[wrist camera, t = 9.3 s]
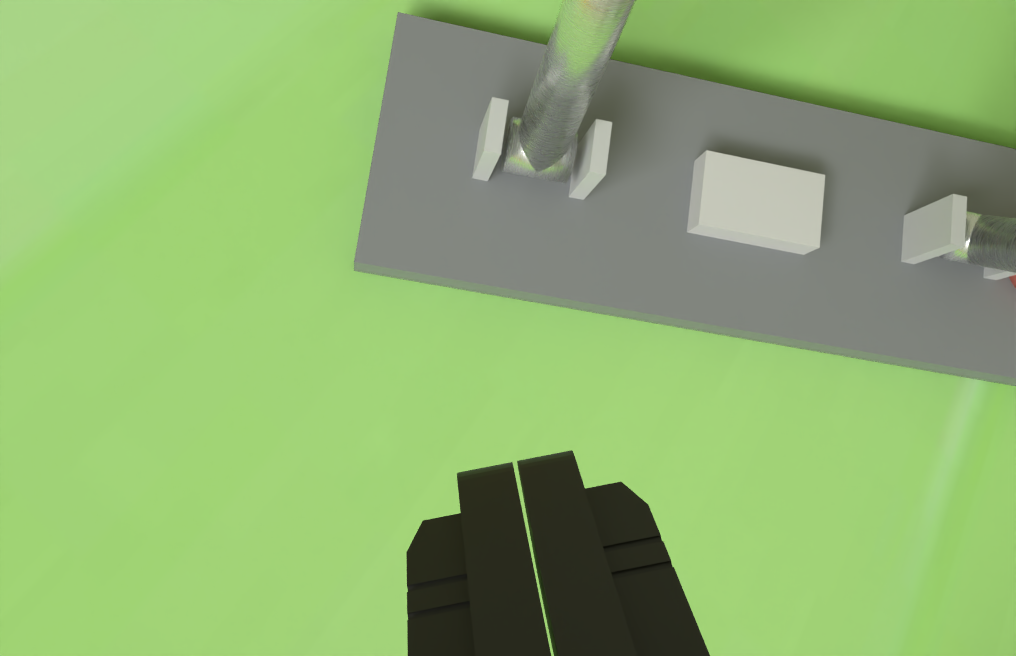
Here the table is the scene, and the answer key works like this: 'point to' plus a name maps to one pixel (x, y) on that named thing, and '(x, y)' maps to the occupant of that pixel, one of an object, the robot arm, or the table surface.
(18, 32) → the table surface
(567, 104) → the metal lever
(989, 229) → the silver metal rod
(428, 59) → the switch panel
